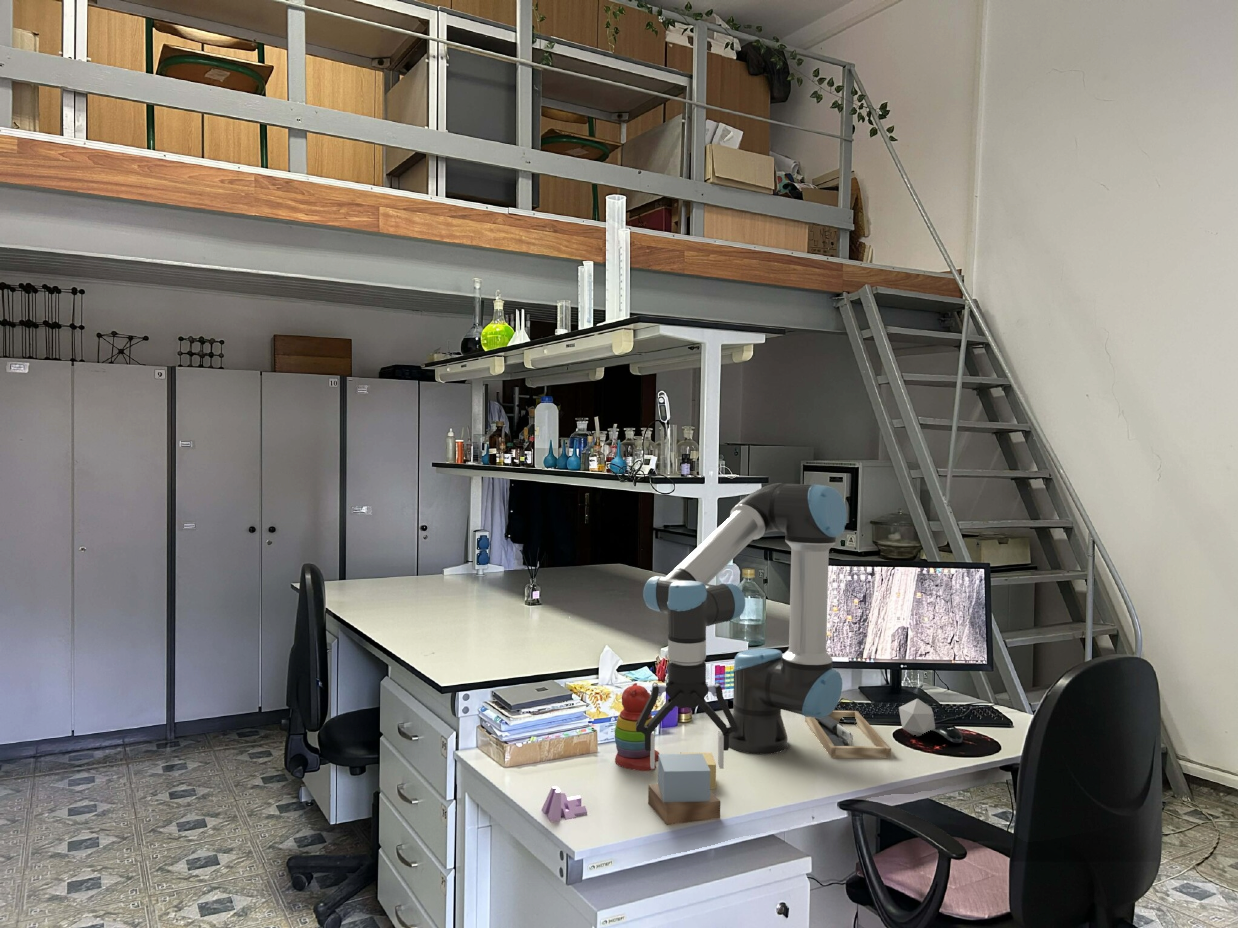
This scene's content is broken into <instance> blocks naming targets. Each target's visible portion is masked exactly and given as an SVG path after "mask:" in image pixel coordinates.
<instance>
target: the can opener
mask: <svg viewBox="0 0 1238 928" xmlns="http://www.w3.org/2000/svg"><path fill="white" fill-rule="evenodd" d="M815 719H816V720H817V721H818V724H819V725H820V726H821V728H822V729H823V731H824V732H825V733H826V735H827V736H828V738H829V739H830V740H831V742H832V743H833V744H834V746H854V743H853V740H854V736H855V735H854V734H853V733H852V732H850V731H849V730H847V728H845V727H844V726H843V724H842V723H839V722H837V721H836V720H834V719H833V718H831V717H830V716H827V717H825V718H821V719H818V718H815Z"/></svg>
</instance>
